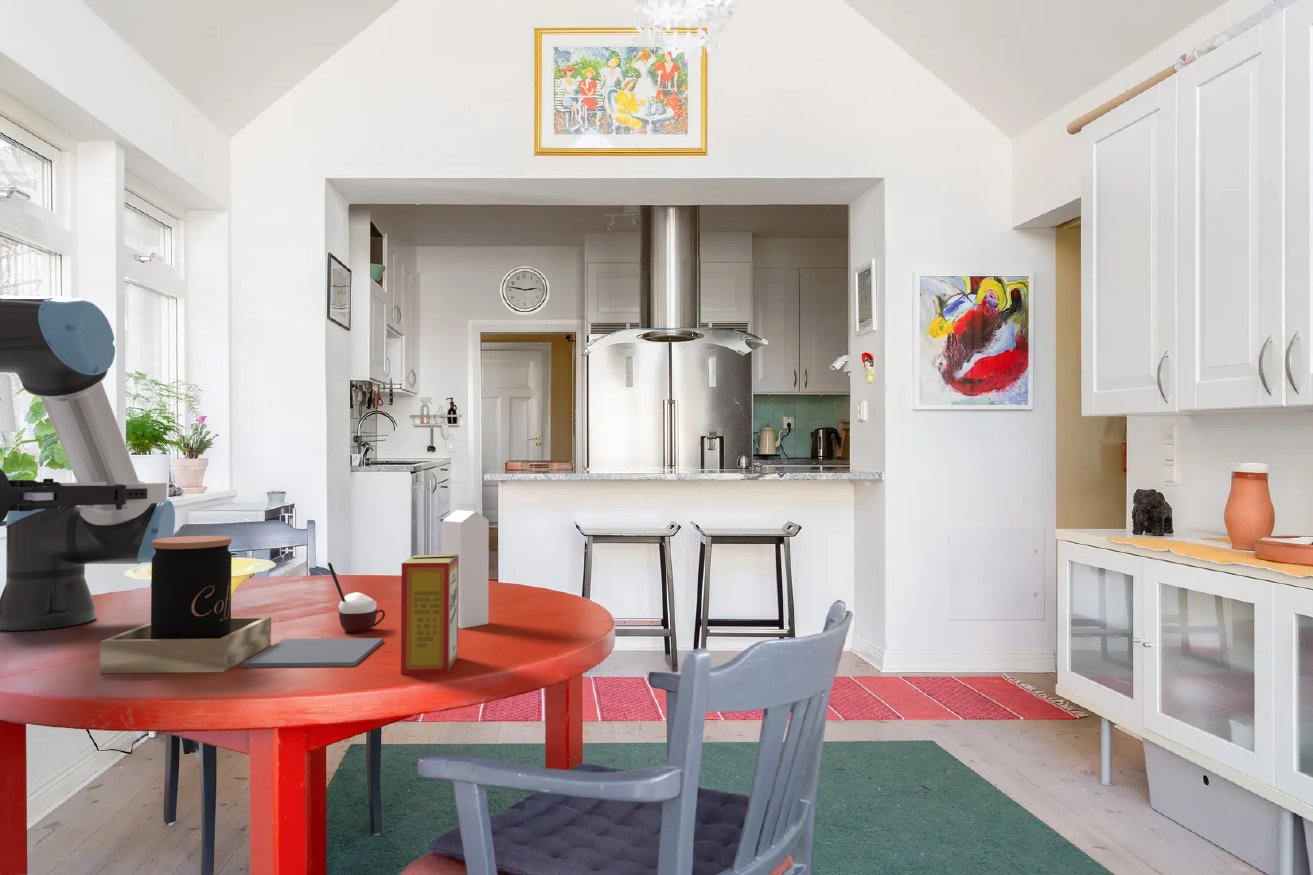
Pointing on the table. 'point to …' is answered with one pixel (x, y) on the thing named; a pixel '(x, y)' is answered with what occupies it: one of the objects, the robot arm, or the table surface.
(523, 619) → the table surface
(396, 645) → the table surface
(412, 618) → the baking soda box
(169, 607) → the coffee jar
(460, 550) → the milk
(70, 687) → the table surface
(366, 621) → the cocoa
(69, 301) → the robot arm
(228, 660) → the wooden tray
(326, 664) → the slate mat
